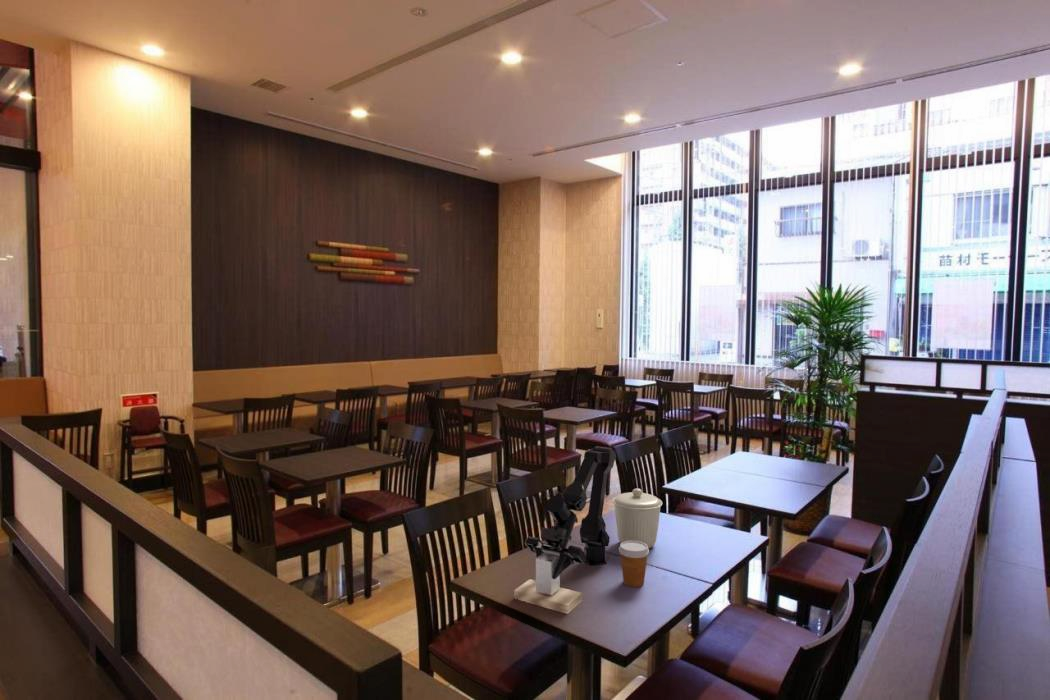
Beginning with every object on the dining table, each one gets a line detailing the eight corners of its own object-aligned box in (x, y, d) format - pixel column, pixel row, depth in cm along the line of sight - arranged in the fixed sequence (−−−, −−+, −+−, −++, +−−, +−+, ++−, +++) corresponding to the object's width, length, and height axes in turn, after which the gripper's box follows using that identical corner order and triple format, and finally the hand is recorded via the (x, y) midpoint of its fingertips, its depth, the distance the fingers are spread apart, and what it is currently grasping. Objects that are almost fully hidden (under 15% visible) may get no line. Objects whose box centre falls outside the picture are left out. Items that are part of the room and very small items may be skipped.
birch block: (514, 598, 179) (514, 580, 178) (529, 587, 186) (529, 569, 186) (567, 614, 169) (567, 595, 169) (581, 601, 177) (581, 583, 176)
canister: (671, 544, 220) (672, 488, 219) (644, 558, 207) (644, 499, 206) (630, 532, 233) (630, 479, 232) (602, 545, 220) (602, 488, 219)
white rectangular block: (544, 584, 181) (544, 552, 180) (559, 588, 178) (559, 555, 178) (535, 591, 177) (535, 558, 176) (551, 595, 174) (551, 562, 173)
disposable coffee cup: (612, 579, 191) (612, 542, 191) (637, 574, 195) (638, 538, 194) (629, 591, 183) (629, 553, 182) (655, 586, 186) (655, 548, 186)
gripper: (527, 510, 184) (508, 558, 176) (581, 521, 175) (564, 572, 166) (540, 527, 192) (522, 574, 183) (593, 538, 182) (577, 588, 173)
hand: (545, 576), depth 176 cm, fingers closed on white rectangular block, 5 cm apart
